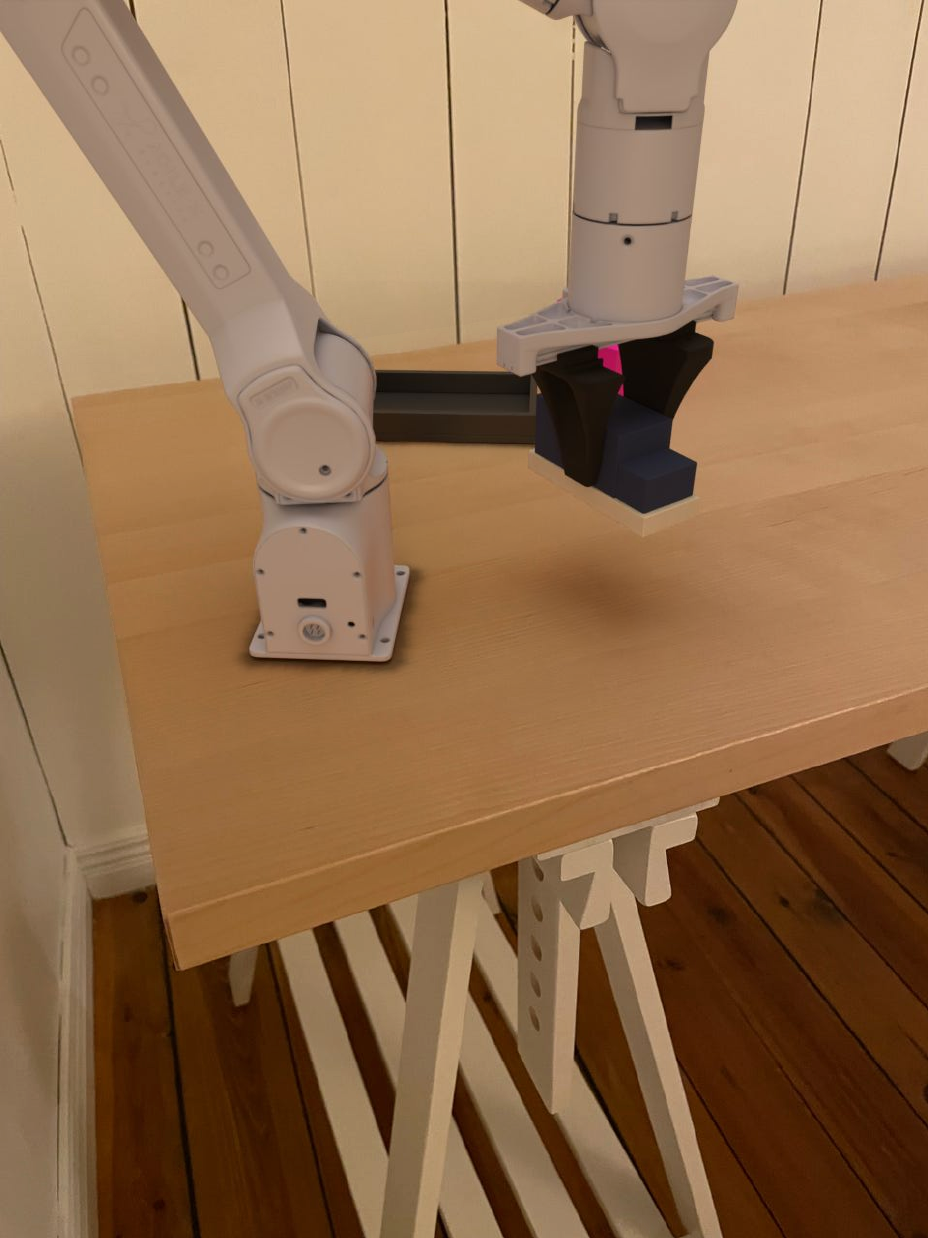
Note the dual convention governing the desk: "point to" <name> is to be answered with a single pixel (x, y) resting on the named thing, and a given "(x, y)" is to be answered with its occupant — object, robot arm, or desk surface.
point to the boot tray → (454, 406)
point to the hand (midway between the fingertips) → (610, 468)
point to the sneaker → (626, 469)
